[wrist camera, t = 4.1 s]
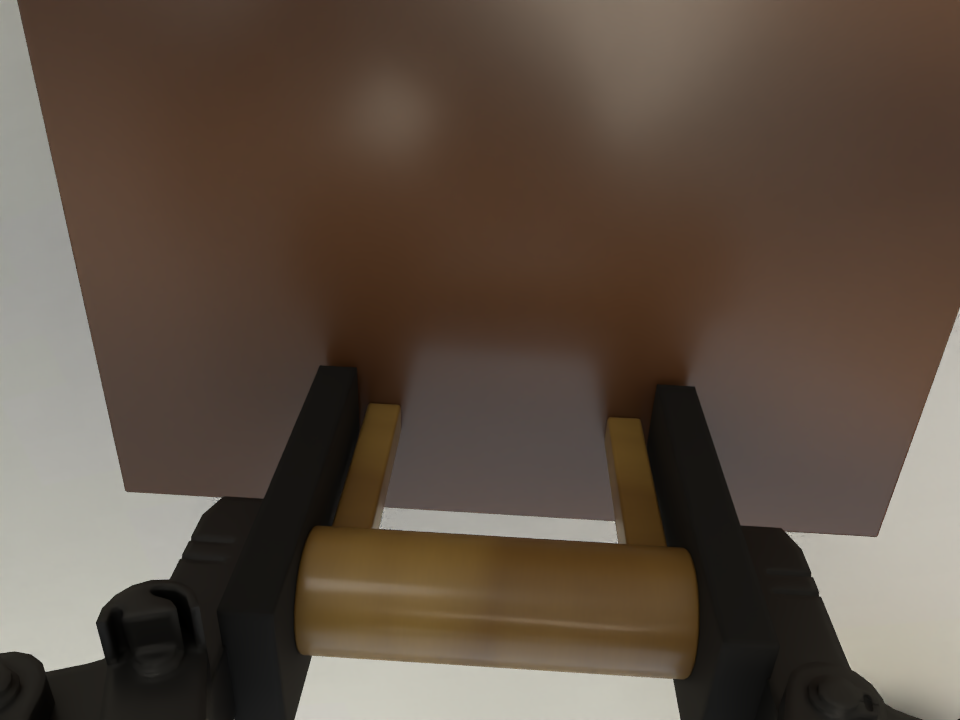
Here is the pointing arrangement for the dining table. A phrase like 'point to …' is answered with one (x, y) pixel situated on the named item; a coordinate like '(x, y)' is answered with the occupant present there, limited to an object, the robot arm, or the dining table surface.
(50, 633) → the dining table surface
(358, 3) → the lid
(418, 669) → the dining table surface
